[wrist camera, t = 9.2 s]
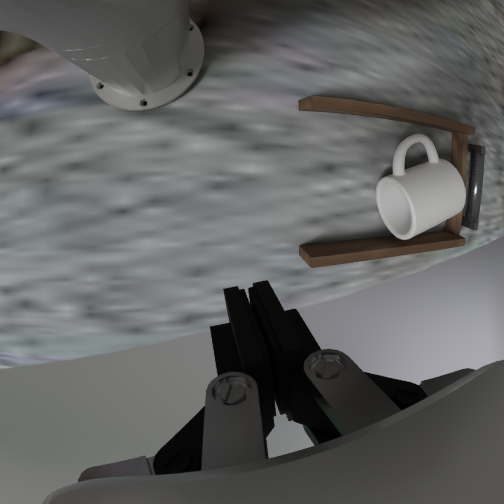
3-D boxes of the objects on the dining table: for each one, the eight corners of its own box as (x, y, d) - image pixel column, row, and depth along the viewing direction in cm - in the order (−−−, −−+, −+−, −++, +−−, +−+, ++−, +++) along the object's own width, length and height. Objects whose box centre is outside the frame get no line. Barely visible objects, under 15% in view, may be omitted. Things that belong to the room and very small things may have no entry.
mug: (430, 206, 38) (467, 221, 31) (380, 229, 37) (417, 249, 30) (417, 127, 33) (458, 130, 26) (362, 142, 33) (402, 146, 25)
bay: (298, 100, 29) (313, 95, 25) (467, 128, 34) (487, 131, 30) (299, 254, 36) (312, 269, 32) (458, 236, 41) (476, 244, 37)
